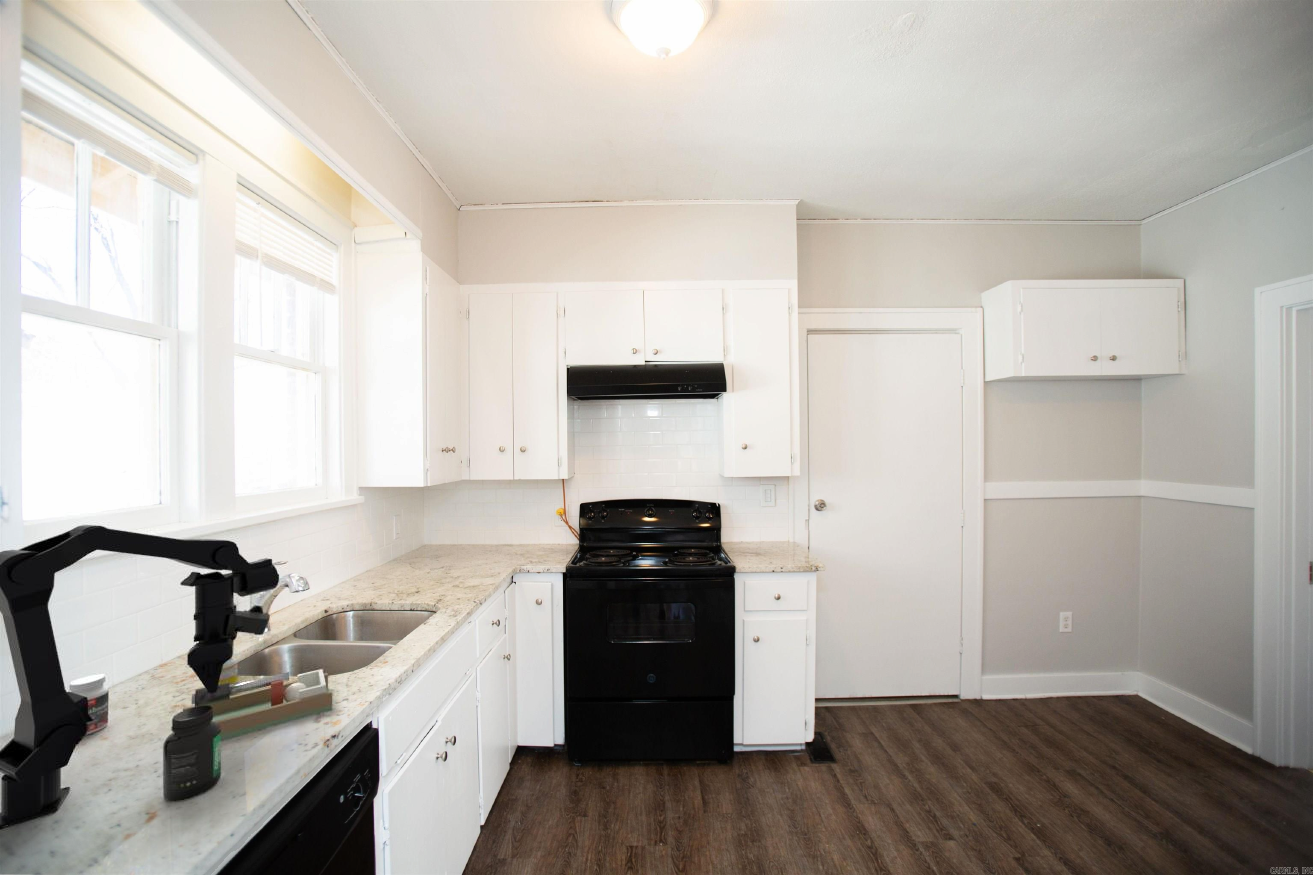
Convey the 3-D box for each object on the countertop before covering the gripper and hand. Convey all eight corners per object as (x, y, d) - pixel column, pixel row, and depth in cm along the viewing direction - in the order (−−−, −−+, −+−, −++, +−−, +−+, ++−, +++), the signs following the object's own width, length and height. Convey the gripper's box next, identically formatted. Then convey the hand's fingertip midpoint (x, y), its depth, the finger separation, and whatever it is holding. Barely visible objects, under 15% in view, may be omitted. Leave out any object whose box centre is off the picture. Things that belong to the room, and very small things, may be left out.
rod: (289, 705, 104) (289, 671, 104) (190, 731, 95) (190, 694, 95) (289, 697, 107) (288, 665, 107) (193, 722, 98) (193, 686, 98)
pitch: (332, 709, 105) (332, 692, 105) (173, 753, 90) (173, 733, 90) (327, 688, 114) (327, 672, 114) (183, 725, 100) (183, 707, 100)
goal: (326, 704, 105) (326, 684, 105) (299, 711, 102) (299, 691, 102) (322, 686, 113) (322, 668, 113) (297, 693, 110) (297, 674, 110)
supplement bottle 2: (241, 692, 113) (241, 649, 114) (212, 702, 109) (211, 658, 109) (231, 686, 116) (231, 645, 116) (201, 697, 111) (201, 653, 112)
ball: (278, 700, 103) (295, 710, 104) (295, 682, 104) (312, 692, 106) (278, 693, 106) (295, 702, 108) (295, 676, 108) (311, 685, 109)
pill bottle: (78, 739, 95) (78, 687, 96) (56, 737, 97) (56, 685, 97) (116, 723, 101) (116, 673, 101) (94, 721, 102) (95, 671, 102)
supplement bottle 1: (231, 777, 83) (231, 704, 83) (182, 806, 77) (182, 726, 77) (201, 771, 85) (201, 699, 85) (151, 798, 78) (152, 720, 79)
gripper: (265, 606, 96) (266, 688, 96) (267, 586, 111) (267, 657, 111) (186, 619, 90) (187, 707, 89) (199, 596, 104) (199, 671, 104)
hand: (215, 683), depth 99 cm, fingers open, 9 cm apart
